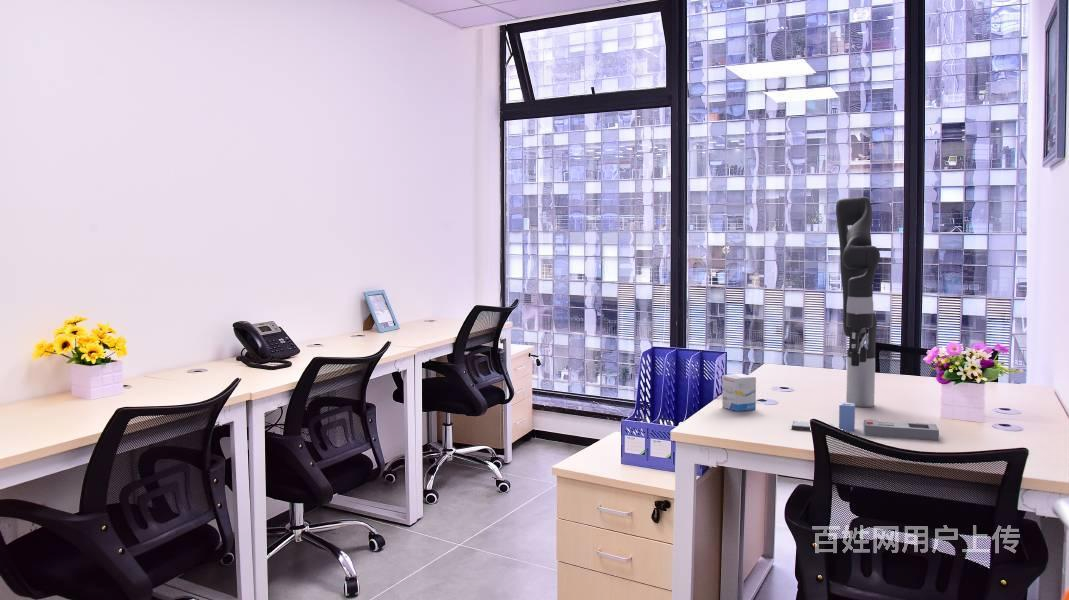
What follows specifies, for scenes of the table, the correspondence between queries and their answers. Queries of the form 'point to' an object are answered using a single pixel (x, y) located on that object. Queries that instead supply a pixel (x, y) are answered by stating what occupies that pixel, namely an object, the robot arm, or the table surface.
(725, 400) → the ink box
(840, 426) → the block
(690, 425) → the table surface
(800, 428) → the phone slab
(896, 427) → the power strip
